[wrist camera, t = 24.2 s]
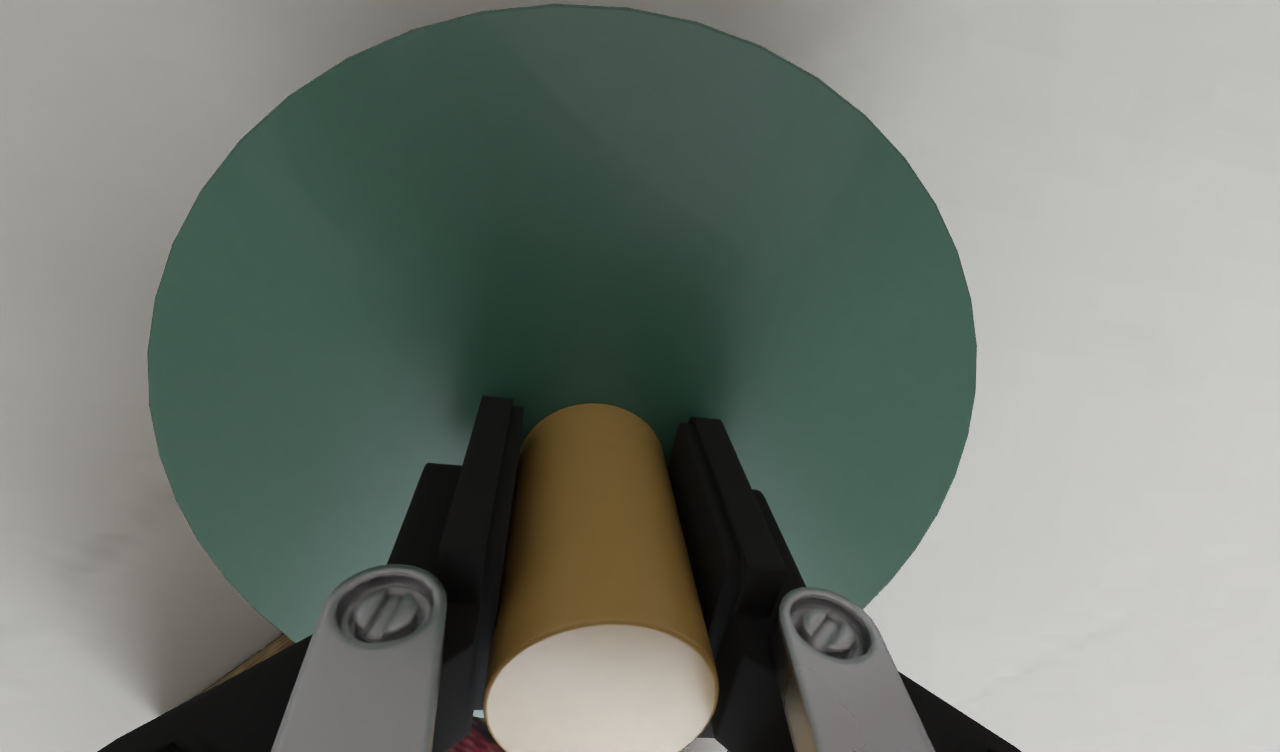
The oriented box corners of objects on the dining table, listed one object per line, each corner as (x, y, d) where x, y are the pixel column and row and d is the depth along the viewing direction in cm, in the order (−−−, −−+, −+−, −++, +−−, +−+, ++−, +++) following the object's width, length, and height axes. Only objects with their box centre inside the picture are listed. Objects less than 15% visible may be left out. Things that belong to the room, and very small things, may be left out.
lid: (664, 748, 17) (705, 1054, 12) (74, 535, 12) (-319, 892, 7) (1090, 339, 13) (1476, 532, 7) (426, -261, 8) (84, -1061, 2)
